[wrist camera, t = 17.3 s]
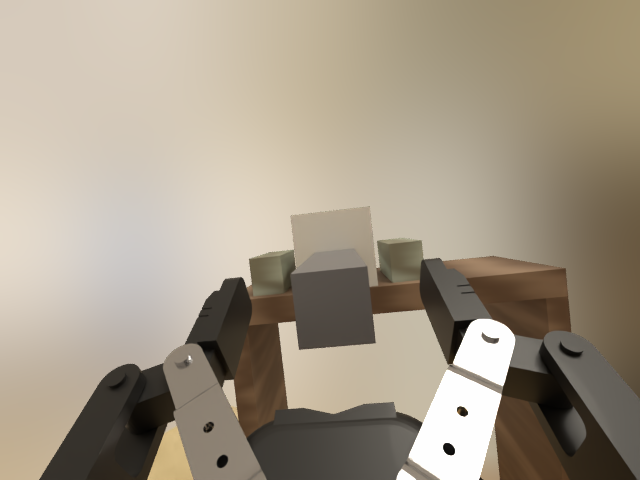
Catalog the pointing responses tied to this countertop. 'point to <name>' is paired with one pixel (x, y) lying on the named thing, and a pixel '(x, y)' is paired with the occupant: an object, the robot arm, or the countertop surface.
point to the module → (333, 278)
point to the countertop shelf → (404, 295)
